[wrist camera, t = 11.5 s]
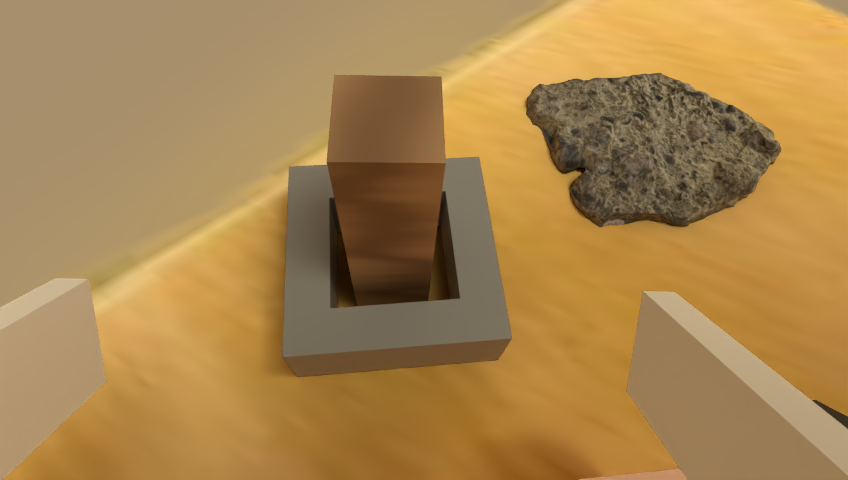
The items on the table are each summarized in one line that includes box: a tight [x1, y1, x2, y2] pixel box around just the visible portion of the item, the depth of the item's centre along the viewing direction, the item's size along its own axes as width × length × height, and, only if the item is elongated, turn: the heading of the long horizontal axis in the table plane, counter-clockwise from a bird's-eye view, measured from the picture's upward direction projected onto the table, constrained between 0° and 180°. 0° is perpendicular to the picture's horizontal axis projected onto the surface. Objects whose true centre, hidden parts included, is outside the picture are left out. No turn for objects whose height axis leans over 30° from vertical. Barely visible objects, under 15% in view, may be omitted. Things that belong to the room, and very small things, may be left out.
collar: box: [282, 157, 512, 377], centre depth 29 cm, size 11×11×4 cm
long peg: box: [327, 75, 446, 306], centre depth 24 cm, size 4×4×14 cm
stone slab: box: [526, 73, 781, 227], centre depth 35 cm, size 12×17×3 cm
